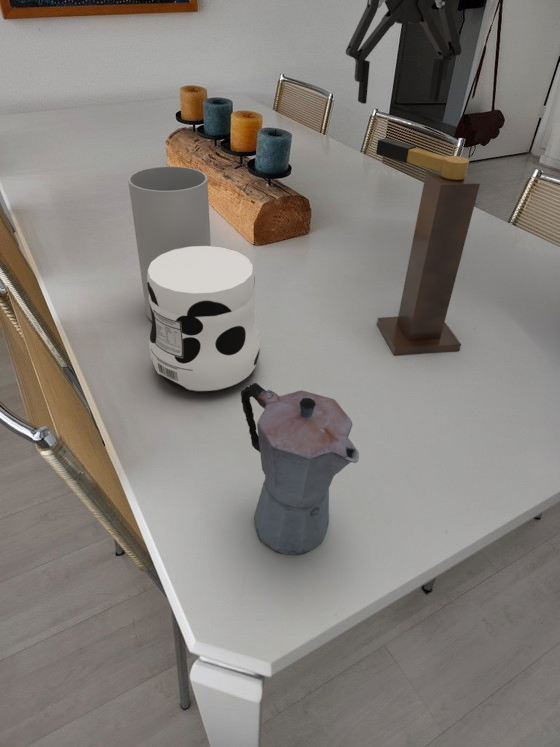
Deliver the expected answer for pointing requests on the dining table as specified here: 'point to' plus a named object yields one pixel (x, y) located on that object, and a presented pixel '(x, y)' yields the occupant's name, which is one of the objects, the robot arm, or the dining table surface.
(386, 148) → the lever
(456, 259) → the stand
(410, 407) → the dining table surface
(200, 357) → the milk container
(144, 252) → the cylinder vase
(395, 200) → the dining table surface
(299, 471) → the moka pot
